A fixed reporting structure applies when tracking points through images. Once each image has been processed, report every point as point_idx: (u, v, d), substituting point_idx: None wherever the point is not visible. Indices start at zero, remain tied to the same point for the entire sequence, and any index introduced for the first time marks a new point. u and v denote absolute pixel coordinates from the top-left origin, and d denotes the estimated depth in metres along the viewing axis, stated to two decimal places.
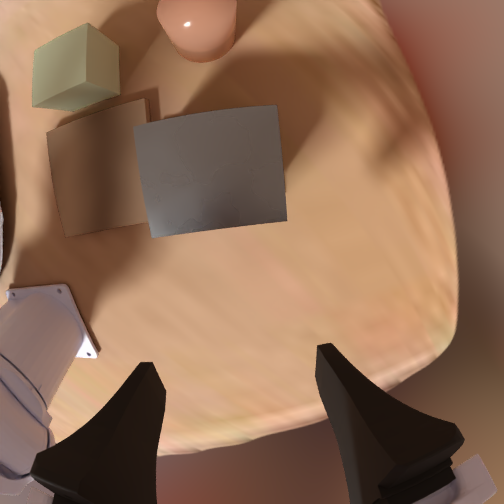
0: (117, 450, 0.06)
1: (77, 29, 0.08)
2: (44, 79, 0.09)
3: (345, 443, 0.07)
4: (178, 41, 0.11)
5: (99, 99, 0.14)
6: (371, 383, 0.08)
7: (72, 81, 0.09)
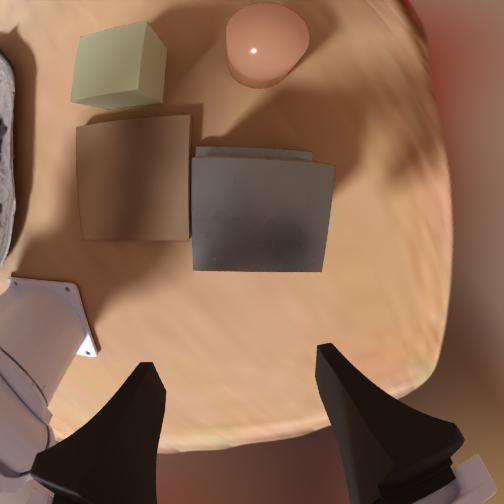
0: (117, 450, 0.06)
1: (133, 26, 0.09)
2: (88, 74, 0.10)
3: (345, 443, 0.07)
4: (240, 66, 0.11)
5: (139, 104, 0.14)
6: (371, 383, 0.08)
7: (122, 84, 0.10)
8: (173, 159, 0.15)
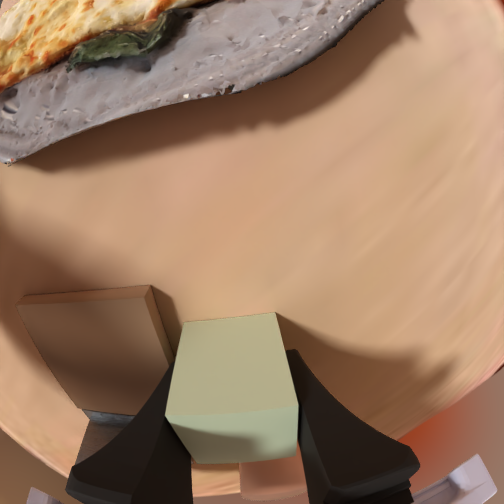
0: (161, 455, 0.06)
1: (291, 450, 0.08)
2: (216, 431, 0.07)
3: (304, 453, 0.07)
4: (243, 471, 0.12)
5: None
6: (328, 394, 0.08)
7: (200, 455, 0.08)
8: (140, 407, 0.12)
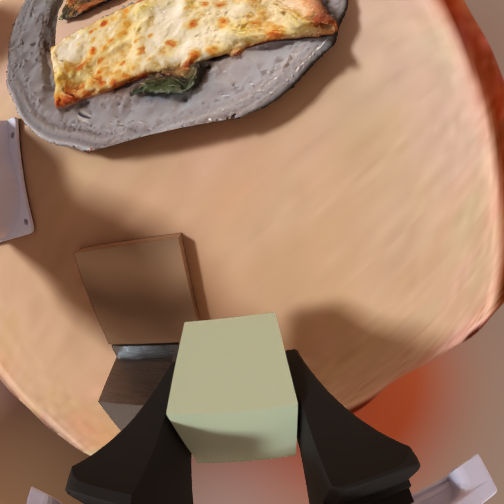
0: (161, 455, 0.06)
1: (291, 449, 0.08)
2: (216, 429, 0.07)
3: (304, 453, 0.07)
4: None
5: None
6: (328, 394, 0.08)
7: (201, 454, 0.08)
8: (163, 333, 0.19)
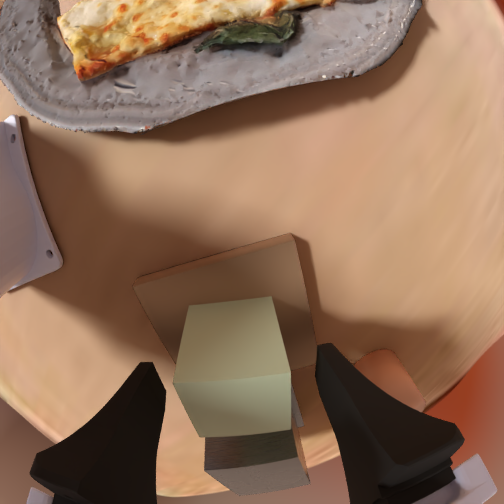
0: (117, 450, 0.06)
1: (286, 422, 0.10)
2: (217, 398, 0.09)
3: (345, 443, 0.07)
4: None
5: None
6: (371, 383, 0.08)
7: (203, 427, 0.09)
8: None
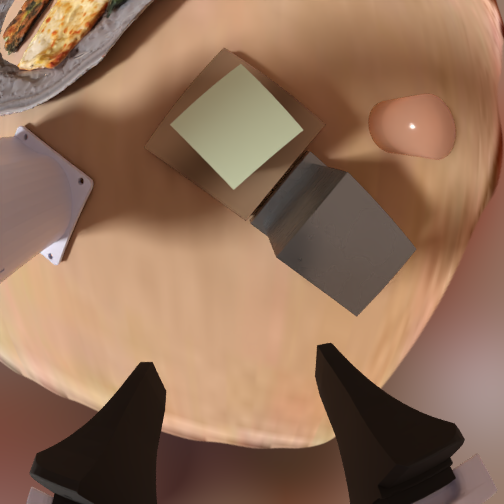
0: (117, 450, 0.06)
1: (289, 120, 0.10)
2: (210, 118, 0.10)
3: (345, 443, 0.07)
4: (396, 128, 0.13)
5: None
6: (371, 383, 0.08)
7: (225, 168, 0.11)
8: (287, 146, 0.16)
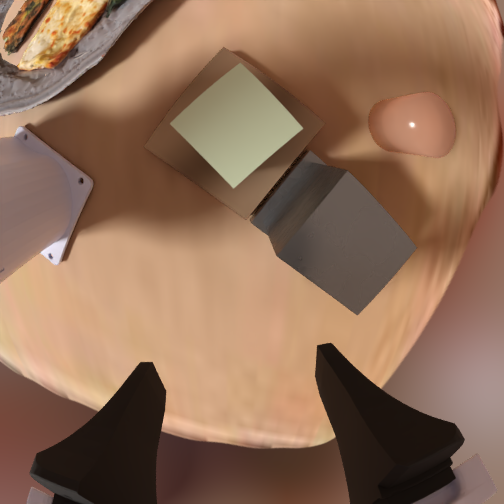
0: (117, 450, 0.06)
1: (289, 118, 0.10)
2: (210, 117, 0.10)
3: (345, 443, 0.07)
4: (396, 127, 0.13)
5: None
6: (371, 383, 0.08)
7: (225, 167, 0.11)
8: (287, 145, 0.16)
